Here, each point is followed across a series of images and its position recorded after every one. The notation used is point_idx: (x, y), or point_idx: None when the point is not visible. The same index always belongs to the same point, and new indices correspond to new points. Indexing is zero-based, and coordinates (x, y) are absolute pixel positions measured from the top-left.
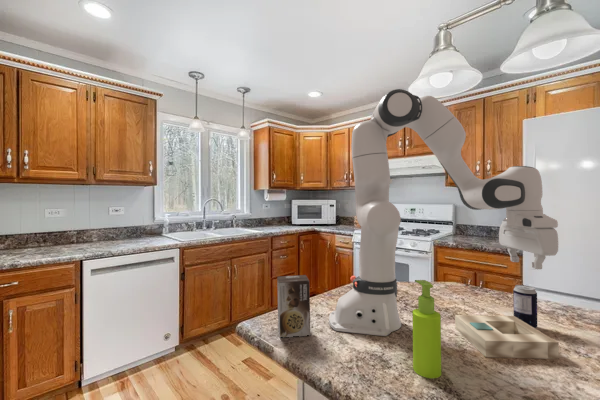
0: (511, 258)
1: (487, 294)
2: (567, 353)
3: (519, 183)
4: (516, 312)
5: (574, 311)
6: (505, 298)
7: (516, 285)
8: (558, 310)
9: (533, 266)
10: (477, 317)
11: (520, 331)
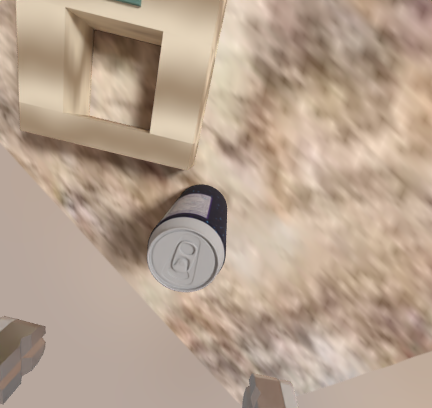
0: (285, 403)
1: (426, 305)
2: (75, 174)
3: None
4: (199, 192)
5: None
6: (377, 322)
7: (216, 254)
8: (267, 359)
9: (16, 330)
10: (194, 26)
11: (131, 127)
